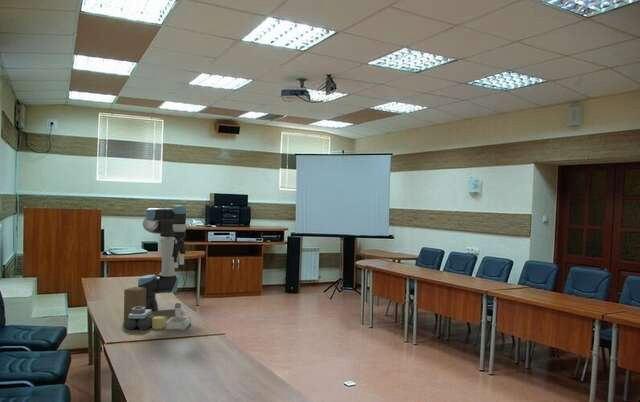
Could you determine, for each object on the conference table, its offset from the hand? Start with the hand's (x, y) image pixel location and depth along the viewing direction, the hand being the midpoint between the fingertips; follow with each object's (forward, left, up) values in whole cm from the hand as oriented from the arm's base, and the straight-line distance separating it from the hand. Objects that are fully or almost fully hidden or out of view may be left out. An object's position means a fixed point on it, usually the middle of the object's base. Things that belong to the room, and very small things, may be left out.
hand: (178, 266), depth 287 cm
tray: (0, 0, -37) cm, 37 cm away
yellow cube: (+2, -11, -37) cm, 38 cm away
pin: (0, 0, -36) cm, 36 cm away
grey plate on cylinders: (+2, -22, -37) cm, 43 cm away
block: (-15, -31, -37) cm, 50 cm away
